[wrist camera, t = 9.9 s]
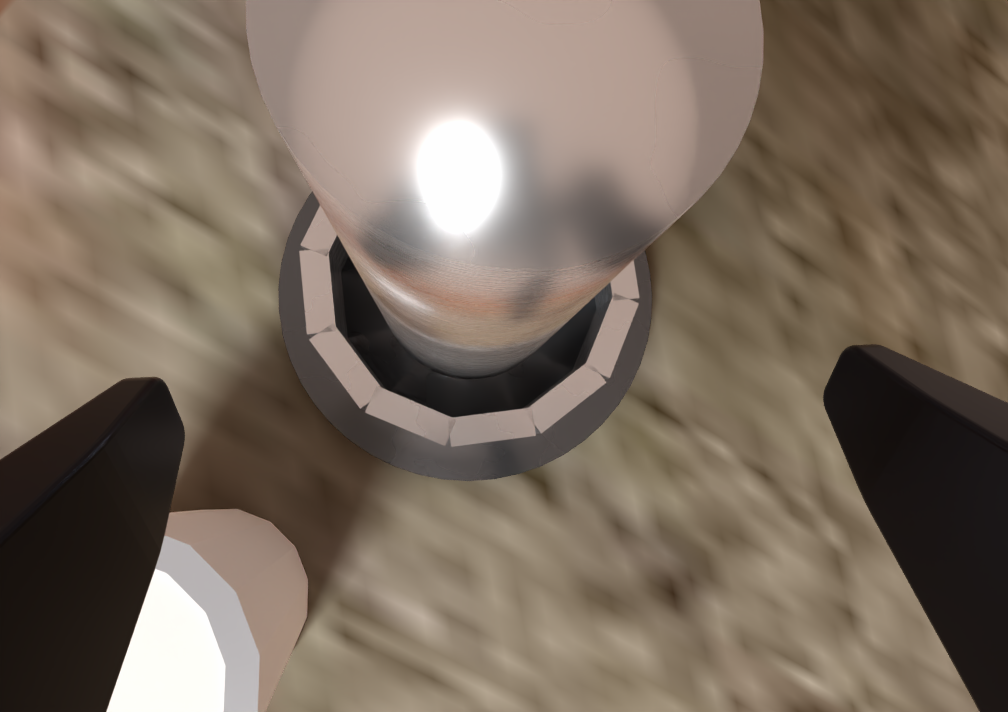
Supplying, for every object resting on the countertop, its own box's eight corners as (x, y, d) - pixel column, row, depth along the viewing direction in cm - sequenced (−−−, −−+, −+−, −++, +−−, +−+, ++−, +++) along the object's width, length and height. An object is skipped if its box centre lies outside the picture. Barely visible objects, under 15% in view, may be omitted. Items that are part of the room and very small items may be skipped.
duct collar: (710, 334, 21) (754, 318, 18) (431, 555, 19) (429, 578, 16) (502, 68, 21) (511, 10, 18) (213, 258, 20) (171, 228, 17)
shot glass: (47, 640, 18) (-207, 772, 11) (191, 445, 19) (42, 452, 12) (240, 766, 18) (109, 976, 11) (373, 564, 19) (329, 639, 12)
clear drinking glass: (591, 310, 20) (861, 80, 7) (453, 415, 19) (462, 378, 6) (487, 177, 20) (558, -291, 7) (347, 273, 19) (136, -55, 6)
